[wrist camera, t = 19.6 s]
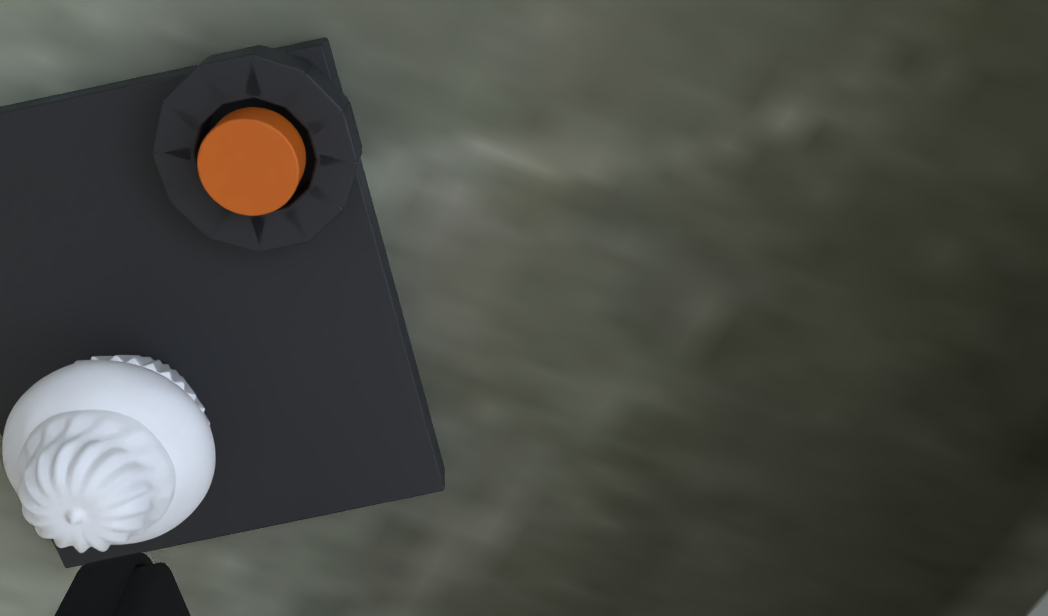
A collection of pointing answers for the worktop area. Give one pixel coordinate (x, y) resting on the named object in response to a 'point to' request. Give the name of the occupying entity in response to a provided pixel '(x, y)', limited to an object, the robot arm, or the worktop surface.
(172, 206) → the scale
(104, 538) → the muffin
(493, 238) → the worktop surface
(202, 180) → the button
